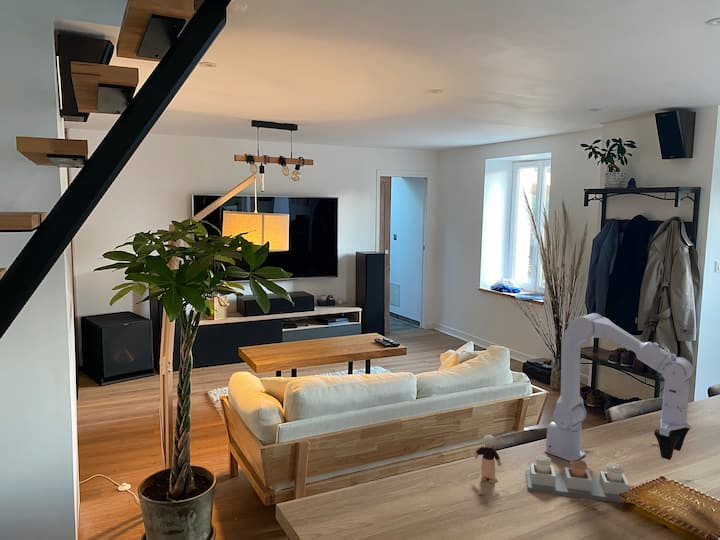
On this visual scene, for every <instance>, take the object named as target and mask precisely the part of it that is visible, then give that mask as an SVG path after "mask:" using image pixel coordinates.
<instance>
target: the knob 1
mask: <svg viewBox="0 0 720 540" xmlns="http://www.w3.org/2000/svg"><path fill="white" fill-rule="evenodd" d="M534 460H535V464H536V472H537V473H545V474H549V473H550V465H551V464H552V459H551V458H550V457H548V456H547V455H536V456H535V459H534Z"/></svg>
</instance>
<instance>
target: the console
mask: <svg viewBox="0 0 720 540" xmlns="http://www.w3.org/2000/svg"><path fill="white" fill-rule="evenodd" d="M529 465H530V466H529V469H525V478H526V486H527V487H526V488H527V491H528V492H534V493H542V494H543V493H544V494H550V495H558V496H567V497H574V498H583V499H589V500H591V499H592V500H598V501H604V502H605V501H607V502H614V503H621V504H623V503H622V502H623V501H622V499H621V498H620V497H619V494H620V493H624V492H627V491H629V489H630V487H631V486H630V484H629V483H630V482H629V481H628V479H627V477H626V475H625V473H622V482H621V483H620V482H612V481H608V480H607V471H601V470H600V471H599V477H592V476H591V474H590V470H589V469H586V472H585V478H578V477H573V476H571V467H568V466H564V472H563V473H559V472H555V467H554V465H551V464H550V473H549V474H545V473H537V472H536V463H533V462H532V463H530V464H529Z"/></svg>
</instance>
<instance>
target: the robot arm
mask: <svg viewBox="0 0 720 540" xmlns="http://www.w3.org/2000/svg"><path fill="white" fill-rule="evenodd" d="M591 337H593V338H594V339H595V338H596V339H597V338H599V339H600V338H601V339H602V338H606V339H607V338H608V339H610V340H612V341H614V342H616V343H617V344H619V345H621V346H623V347H624V348H626V349H628V350H630V351H631V352H633V353H635V356H636V359H637V360H638V361H640V362H641V363H643V364H645V365H647V366H648V367H649V368H651V369H653V370H655V371H656V372H658V373H659V374H660V373H661V376H662V378H663V379H664V385H663V392H662V393H663V394H662V404H661V405H662V406H661V416H660V419H659V422H660V427H659V429H658V428H656V429H655V430H654V437H655V438H656V440H657V442H658V447H659V453H660V457H661V459H665V460H669V461H670V460H671V459H672V458H673V454H674V451H678V452H681V450H682V447H683V444H684V441H685V438H686V436H687V434H688V432H689V431H690V430H691V429H692V423H689V422H688V421H687V418H688V410H689V409H688V407H689V393H690V378H692V376H693V373H694V367H693V365H692V363H691V361H689V360H688V359H687V358H685V357H681V356H678V357H677V355H676V354H675V353H670V352H668V351H666V350H665V349H663V348H661V347H660V343H657V342H656V341H654V342H651V341H646V342H645V341H644V342H643V341H641V340H640V339H638V338H636V337H635V336H633V335H632V334H630V332H627V331H625V330H624V329H623V328H621V327H619V326H618V324H617V325H616V324H615V323H614V322H612V321H611V320H610V319H609V318H607V317H604V316H602V315H601V314H599V313H596V312H592V313H589V314H586V315H582V316H578V317H576V318H574V319H572V320H570V321H569V322H568V326H567V327H566V329H565V331H564V333H563V334H562V336H561V339H560V341H561V347H560V348H561V351H560V361H561V362H560V395H559V397H558V399H557V401H556V403H555V410H554V411H553V413H552V420H553V421H550V423H549V424H548V426H547V428H546V429H547V430H546V438H545V439H546V443H545V450H544V452H545V453H547V454H550V455H552V456H555V457H557V458H560V459H563V460H566V461H568V462H571V460H575V459H576V460H581V458H582V457H584V456H586V452H585V451H581V446H582V444H581V443H582V429H583V427H582V426H583V425H582V423H583V421H584V420H585V419H586V417H587V410H586V407H585V405H584V399H583V397H582V396H581V349H582V348H581V347H582V346H581V345H582V344H583V343H584V342H585V341H587V340H588V339H589V338H591Z"/></svg>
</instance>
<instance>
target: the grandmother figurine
mask: <svg viewBox="0 0 720 540" xmlns="http://www.w3.org/2000/svg"><path fill="white" fill-rule="evenodd" d="M495 441H496V440H495V437H494V436H493V435H492V434H487V435H484V437H483V438H482V441H481V442H482V443H481V444H482V445H484V446H481V447H479V448H478V449H476V450H475V454H474V456H473V457H474V458H475V459H477V458H478V457H479V456H482V457H481V465H480V467H481V478H480V480H481V481H485V482H486V481H488V482H489V483H491V484H494V483H497V482H498V481H499V480H498V478H497V477H496V465H498V466H499V467H500V466H502V463H501V458H500V455H499V454H498V451H497V450H496V449H495V448H493V447H494V443H495ZM496 463H497V464H496Z"/></svg>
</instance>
